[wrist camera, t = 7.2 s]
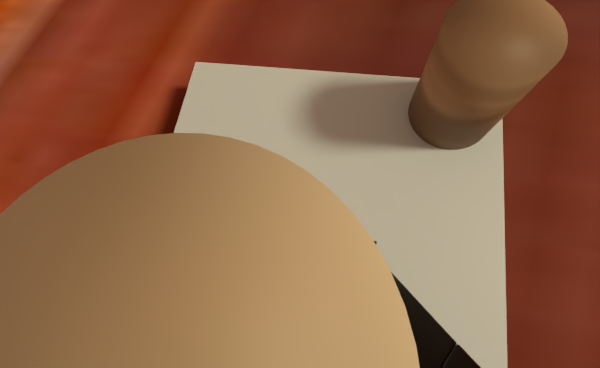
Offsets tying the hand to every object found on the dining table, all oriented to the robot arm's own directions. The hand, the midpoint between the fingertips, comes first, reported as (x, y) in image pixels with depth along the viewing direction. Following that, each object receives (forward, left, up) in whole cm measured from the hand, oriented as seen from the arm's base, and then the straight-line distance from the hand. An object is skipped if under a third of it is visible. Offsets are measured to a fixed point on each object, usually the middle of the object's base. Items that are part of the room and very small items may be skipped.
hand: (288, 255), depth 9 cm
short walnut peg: (+10, +3, -6) cm, 12 cm away
